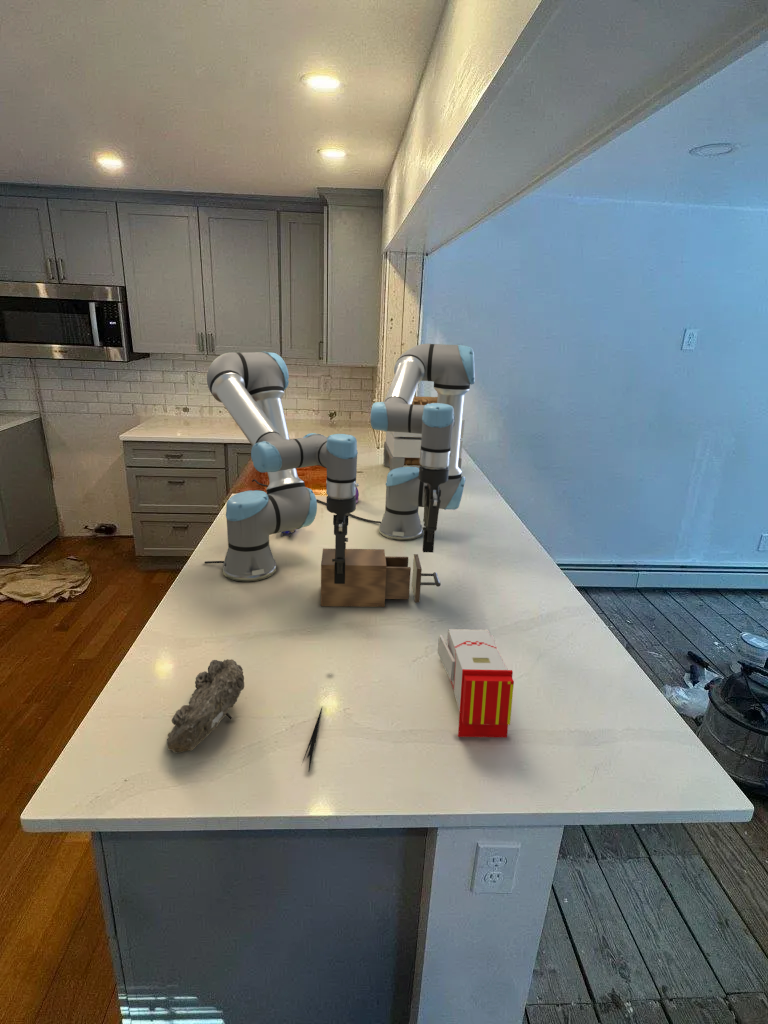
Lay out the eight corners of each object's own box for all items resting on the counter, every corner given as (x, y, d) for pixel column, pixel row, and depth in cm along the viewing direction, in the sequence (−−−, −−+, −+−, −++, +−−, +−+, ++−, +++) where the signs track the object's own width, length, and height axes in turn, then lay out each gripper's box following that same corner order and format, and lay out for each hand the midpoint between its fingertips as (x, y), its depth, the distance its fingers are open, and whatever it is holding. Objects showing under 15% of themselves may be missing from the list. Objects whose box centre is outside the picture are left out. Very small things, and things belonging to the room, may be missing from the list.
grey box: (382, 463, 289) (386, 382, 275) (445, 464, 293) (451, 384, 279) (390, 482, 257) (394, 392, 243) (460, 483, 261) (468, 394, 247)
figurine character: (295, 542, 192) (300, 522, 205) (294, 523, 188) (300, 503, 202) (275, 542, 191) (282, 521, 205) (274, 522, 188) (281, 502, 201)
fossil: (192, 660, 117) (244, 628, 112) (224, 691, 120) (276, 661, 115) (142, 746, 98) (202, 712, 93) (182, 779, 101) (242, 748, 96)
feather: (331, 679, 122) (336, 673, 122) (307, 777, 96) (313, 769, 95) (324, 675, 122) (329, 669, 121) (298, 772, 95) (304, 764, 95)
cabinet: (382, 588, 160) (384, 549, 156) (384, 606, 151) (386, 565, 147) (322, 587, 159) (322, 548, 155) (320, 606, 150) (321, 564, 146)
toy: (488, 613, 130) (523, 677, 101) (484, 667, 133) (517, 744, 104) (435, 612, 130) (455, 676, 101) (432, 666, 133) (451, 743, 103)
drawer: (435, 586, 160) (437, 554, 157) (440, 602, 152) (442, 569, 148) (361, 585, 159) (362, 553, 156) (361, 602, 150) (362, 568, 147)
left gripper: (356, 511, 134) (354, 594, 142) (355, 482, 156) (354, 556, 163) (324, 510, 134) (324, 593, 141) (328, 482, 155) (327, 555, 163)
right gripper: (453, 473, 138) (445, 561, 146) (445, 459, 150) (438, 542, 158) (422, 472, 137) (416, 561, 145) (416, 459, 149) (411, 541, 157)
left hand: (340, 573), depth 152 cm, fingers closed on cabinet, 10 cm apart
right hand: (427, 551), depth 151 cm, fingers closed
